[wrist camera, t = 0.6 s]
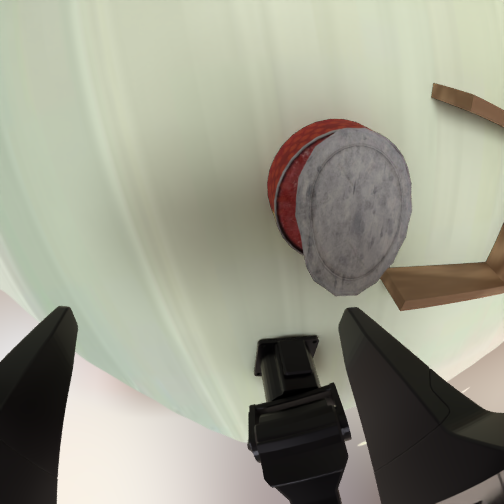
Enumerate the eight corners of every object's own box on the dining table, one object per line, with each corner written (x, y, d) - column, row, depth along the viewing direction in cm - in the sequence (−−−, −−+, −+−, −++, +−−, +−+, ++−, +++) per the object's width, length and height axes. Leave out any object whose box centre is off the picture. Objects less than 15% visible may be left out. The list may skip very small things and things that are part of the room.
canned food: (262, 135, 23) (263, 89, 13) (379, 134, 23) (441, 101, 13) (270, 275, 25) (278, 319, 15) (386, 266, 24) (449, 299, 15)
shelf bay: (486, 269, 30) (506, 292, 26) (379, 278, 27) (400, 311, 24) (536, 134, 19) (565, 150, 15) (433, 83, 17) (473, 94, 13)
